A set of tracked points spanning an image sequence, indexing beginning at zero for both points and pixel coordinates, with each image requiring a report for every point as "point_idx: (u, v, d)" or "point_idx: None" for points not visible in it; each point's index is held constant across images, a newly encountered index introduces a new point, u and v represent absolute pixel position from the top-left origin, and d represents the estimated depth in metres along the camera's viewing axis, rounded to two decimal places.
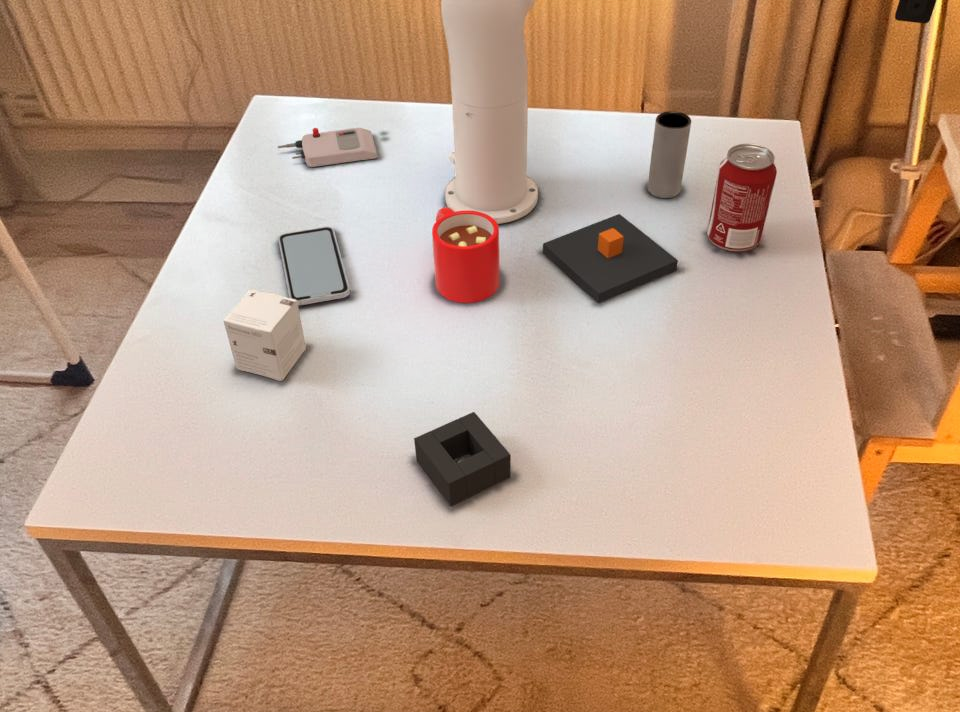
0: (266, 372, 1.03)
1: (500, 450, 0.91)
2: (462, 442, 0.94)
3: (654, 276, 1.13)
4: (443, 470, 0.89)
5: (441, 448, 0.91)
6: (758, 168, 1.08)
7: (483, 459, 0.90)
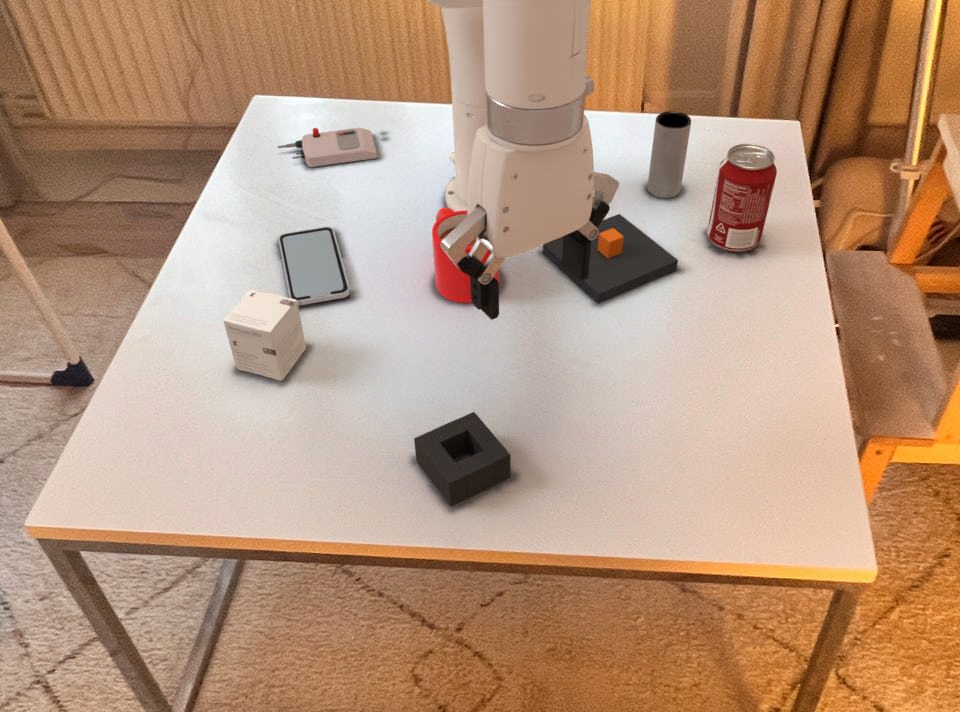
0: (266, 372, 1.03)
1: (500, 450, 0.91)
2: (462, 442, 0.94)
3: (654, 276, 1.13)
4: (443, 470, 0.89)
5: (441, 448, 0.91)
6: (758, 168, 1.08)
7: (483, 459, 0.90)
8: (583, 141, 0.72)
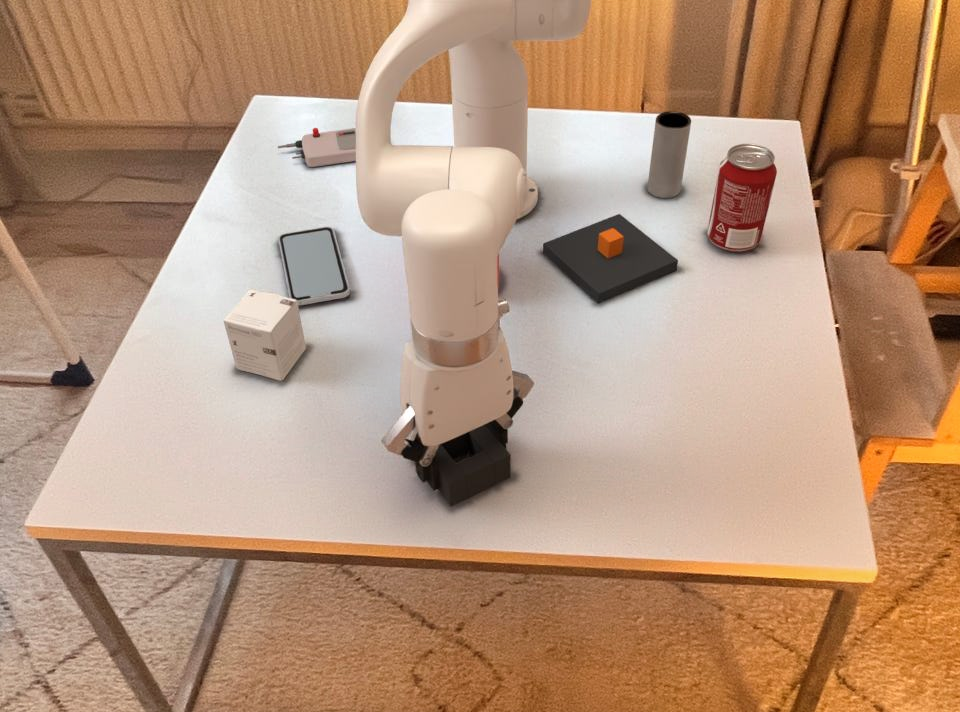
0: (266, 372, 1.03)
1: (500, 450, 0.91)
2: (462, 442, 0.94)
3: (654, 276, 1.13)
4: (443, 470, 0.89)
5: (441, 448, 0.91)
6: (758, 168, 1.08)
7: (483, 459, 0.90)
8: (499, 354, 0.82)
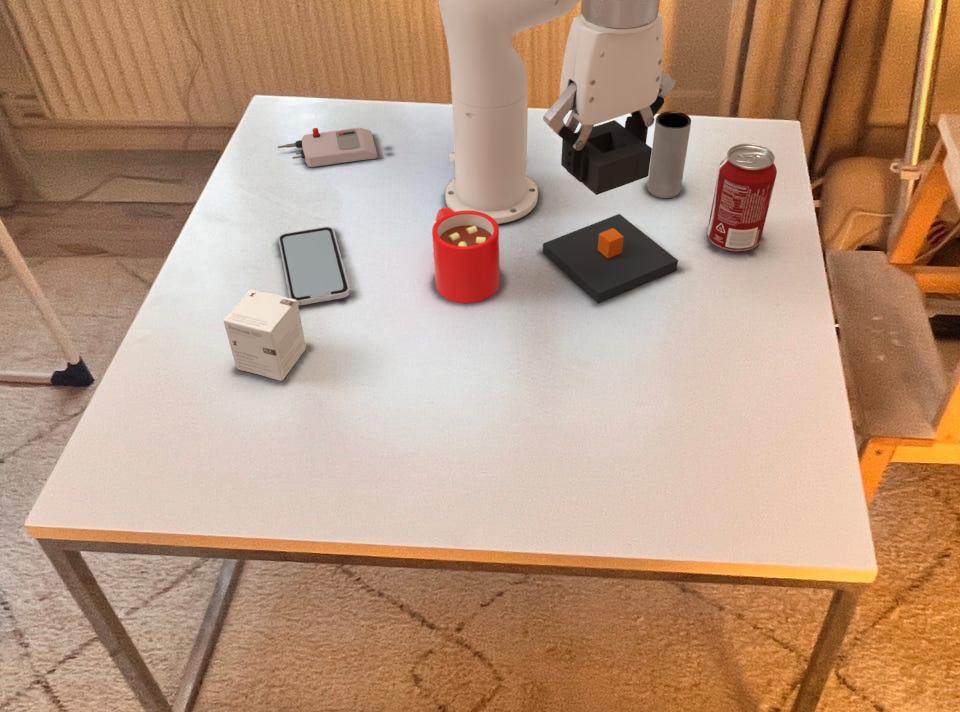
0: (266, 372, 1.03)
1: (642, 145, 1.00)
2: (604, 145, 1.03)
3: (654, 276, 1.13)
4: (592, 158, 0.99)
5: (588, 143, 1.01)
6: (758, 168, 1.08)
7: (627, 151, 1.00)
8: (656, 30, 0.91)
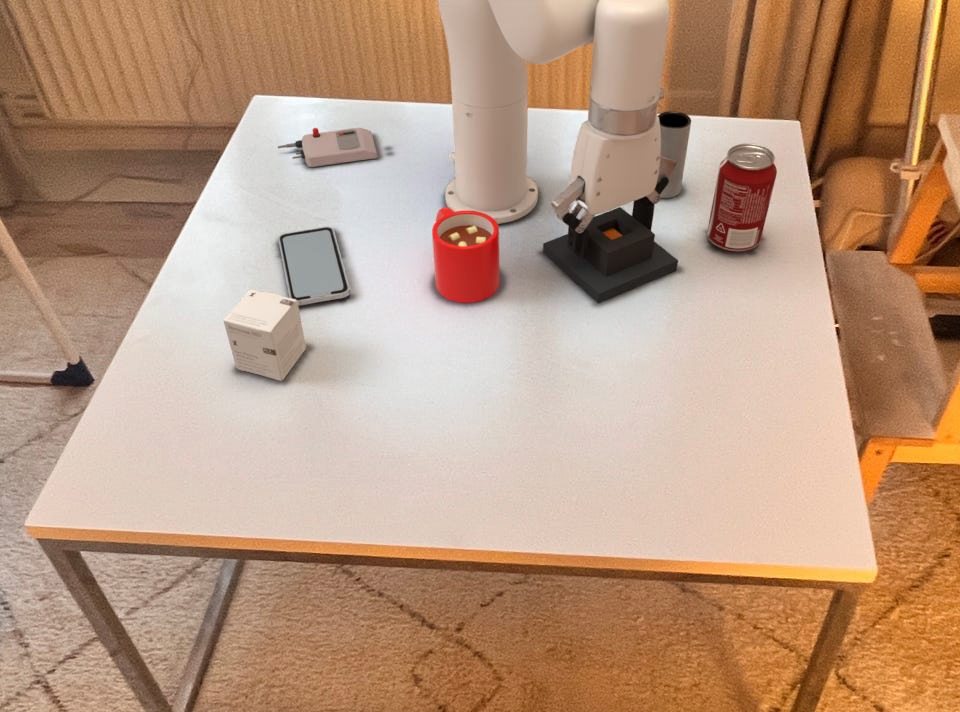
0: (266, 372, 1.03)
1: (646, 231, 1.12)
2: None
3: (654, 276, 1.13)
4: (602, 244, 1.10)
5: (598, 230, 1.12)
6: (758, 168, 1.08)
7: (633, 237, 1.11)
8: (655, 133, 1.03)
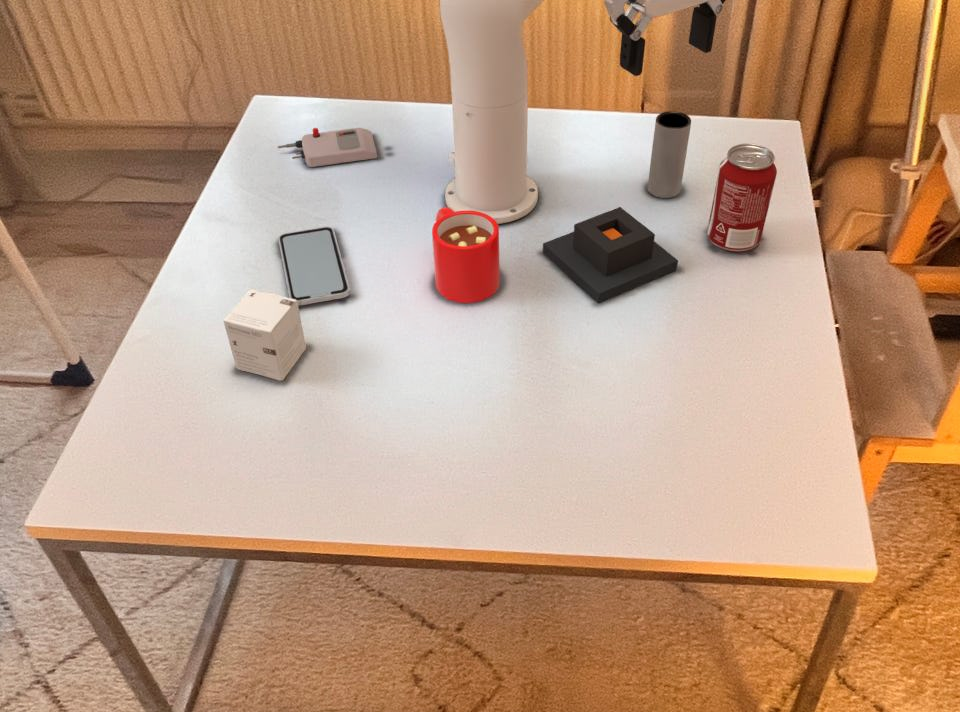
0: (266, 372, 1.03)
1: (646, 231, 1.12)
2: None
3: (654, 276, 1.13)
4: (602, 244, 1.10)
5: (598, 230, 1.12)
6: (758, 168, 1.08)
7: (633, 237, 1.11)
8: None
